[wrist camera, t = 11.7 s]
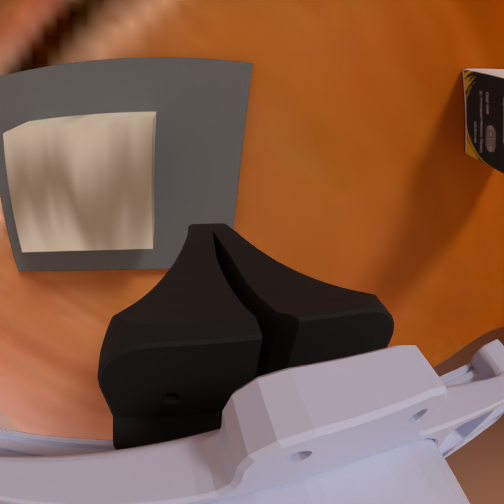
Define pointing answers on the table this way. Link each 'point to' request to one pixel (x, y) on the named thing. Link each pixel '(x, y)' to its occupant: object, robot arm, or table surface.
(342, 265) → the table surface
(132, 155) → the slab
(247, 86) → the mat
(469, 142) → the medicine bottle
